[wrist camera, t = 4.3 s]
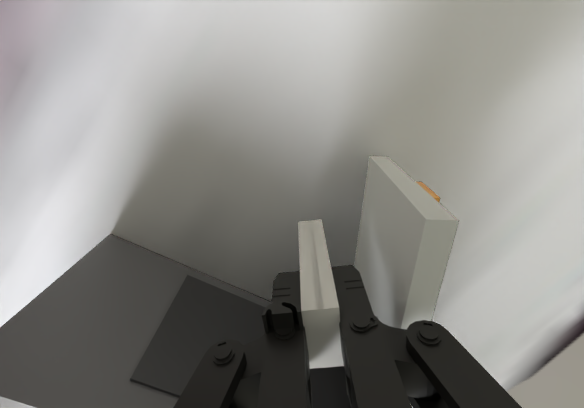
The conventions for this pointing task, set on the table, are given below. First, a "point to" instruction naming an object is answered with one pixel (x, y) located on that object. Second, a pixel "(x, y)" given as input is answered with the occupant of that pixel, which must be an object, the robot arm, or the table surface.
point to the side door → (402, 244)
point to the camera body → (129, 334)
